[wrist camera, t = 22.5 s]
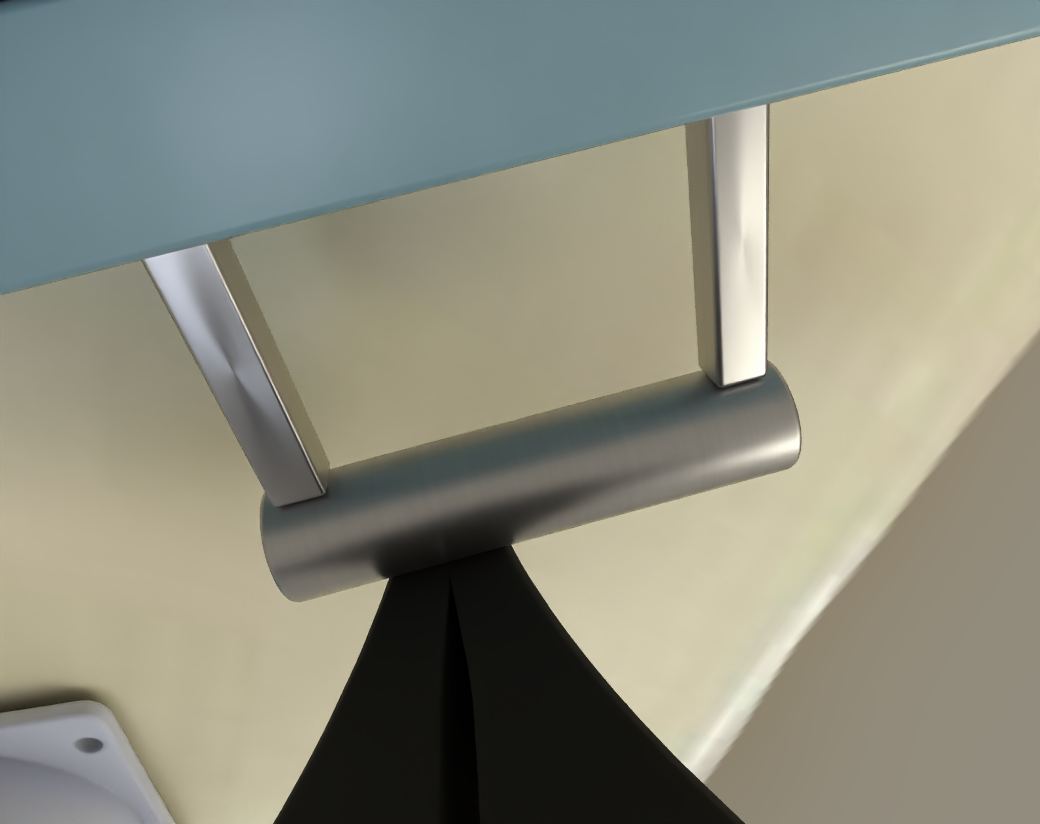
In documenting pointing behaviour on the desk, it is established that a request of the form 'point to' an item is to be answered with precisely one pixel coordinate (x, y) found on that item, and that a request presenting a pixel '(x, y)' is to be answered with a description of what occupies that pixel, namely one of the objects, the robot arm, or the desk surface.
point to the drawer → (417, 166)
